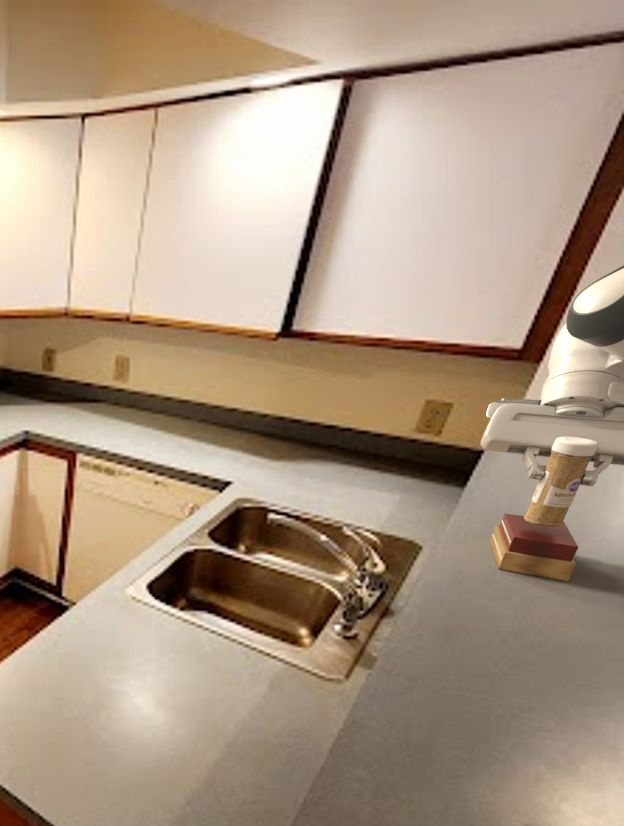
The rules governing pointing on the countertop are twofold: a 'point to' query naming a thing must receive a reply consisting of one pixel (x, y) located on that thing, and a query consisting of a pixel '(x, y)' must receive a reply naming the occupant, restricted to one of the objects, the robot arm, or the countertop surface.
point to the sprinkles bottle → (560, 481)
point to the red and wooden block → (533, 548)
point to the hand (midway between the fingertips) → (561, 480)
